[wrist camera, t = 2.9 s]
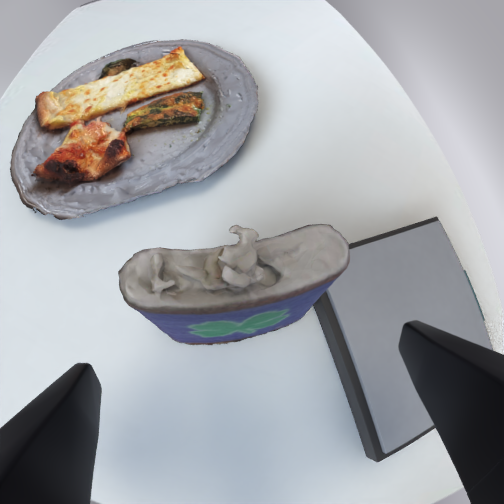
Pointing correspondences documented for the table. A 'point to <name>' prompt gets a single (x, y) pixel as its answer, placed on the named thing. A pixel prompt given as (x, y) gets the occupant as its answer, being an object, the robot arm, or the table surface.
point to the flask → (234, 283)
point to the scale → (394, 326)
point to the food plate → (133, 127)
